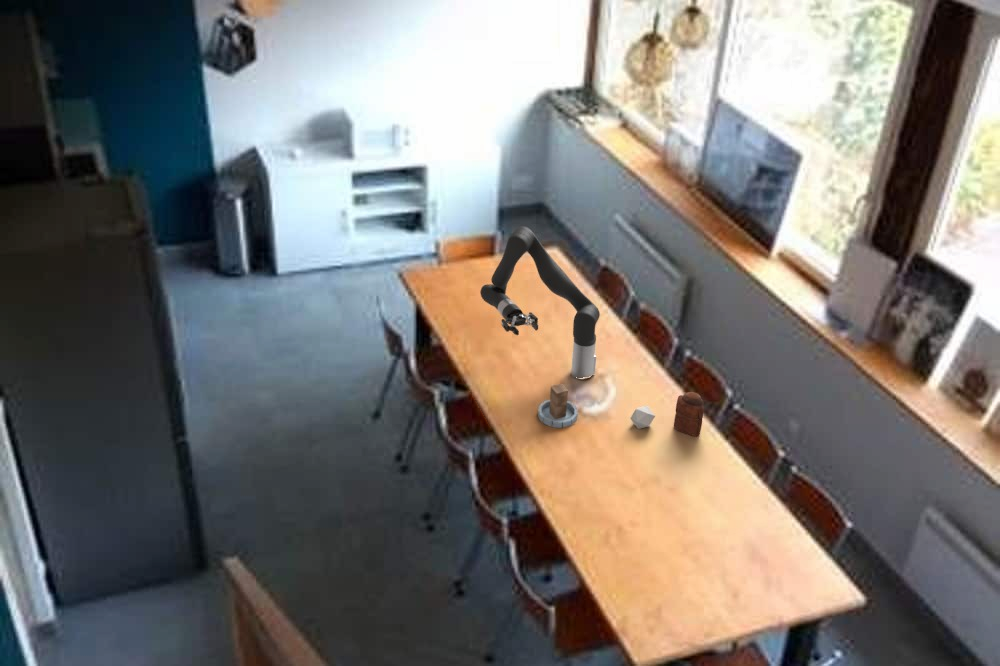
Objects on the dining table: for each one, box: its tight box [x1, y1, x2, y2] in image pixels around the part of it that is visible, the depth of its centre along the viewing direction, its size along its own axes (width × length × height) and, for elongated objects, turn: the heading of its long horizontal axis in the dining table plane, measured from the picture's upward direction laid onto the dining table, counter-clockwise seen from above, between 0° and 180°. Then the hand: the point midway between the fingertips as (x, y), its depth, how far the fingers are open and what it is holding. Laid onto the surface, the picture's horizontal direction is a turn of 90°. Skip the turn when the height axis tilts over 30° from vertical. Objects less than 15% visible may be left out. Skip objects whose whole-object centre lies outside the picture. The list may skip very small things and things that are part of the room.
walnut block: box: [549, 383, 569, 419], centre depth 415 cm, size 5×5×13 cm
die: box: [629, 405, 656, 430], centre depth 413 cm, size 8×9×10 cm
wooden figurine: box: [673, 391, 705, 437], centre depth 409 cm, size 12×6×18 cm, turn 61°
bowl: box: [537, 398, 578, 429], centre depth 419 cm, size 16×16×3 cm
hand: (527, 330), depth 416 cm, fingers open, 8 cm apart
